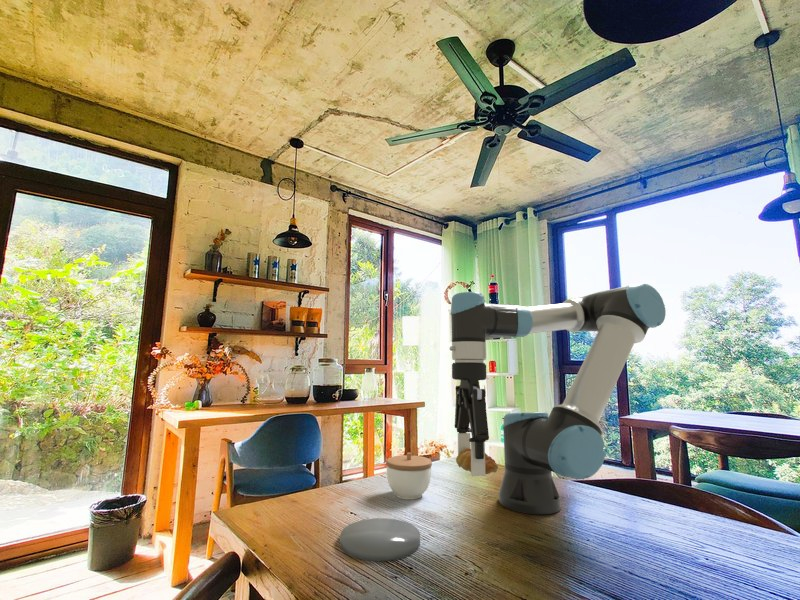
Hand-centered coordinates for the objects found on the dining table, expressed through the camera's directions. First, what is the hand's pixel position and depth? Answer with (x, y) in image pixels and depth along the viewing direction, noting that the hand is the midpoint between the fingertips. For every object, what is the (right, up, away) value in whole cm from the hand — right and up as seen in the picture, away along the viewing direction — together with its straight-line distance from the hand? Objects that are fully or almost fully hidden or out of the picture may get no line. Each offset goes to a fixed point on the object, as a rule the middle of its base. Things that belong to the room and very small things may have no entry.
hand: (470, 469), depth 83 cm
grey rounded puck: (-19, -13, -5) cm, 23 cm away
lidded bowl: (-13, -18, +24) cm, 32 cm away
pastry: (+1, -1, +1) cm, 2 cm away
